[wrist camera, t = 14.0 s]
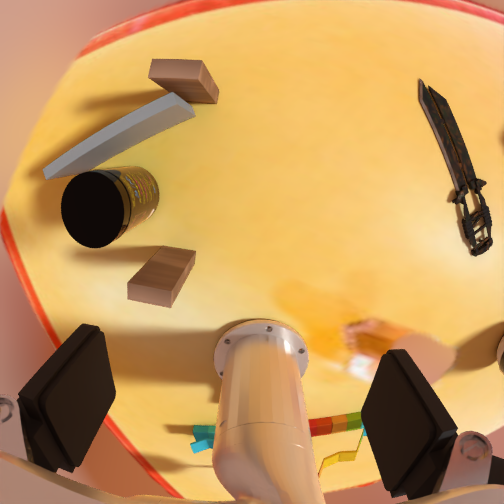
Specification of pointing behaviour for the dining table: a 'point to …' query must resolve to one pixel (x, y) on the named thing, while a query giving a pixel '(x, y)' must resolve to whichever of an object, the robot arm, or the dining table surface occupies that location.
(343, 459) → the chart
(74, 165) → the door
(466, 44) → the dining table surface
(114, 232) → the supplement container
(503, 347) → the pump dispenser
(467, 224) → the knife
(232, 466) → the robot arm
